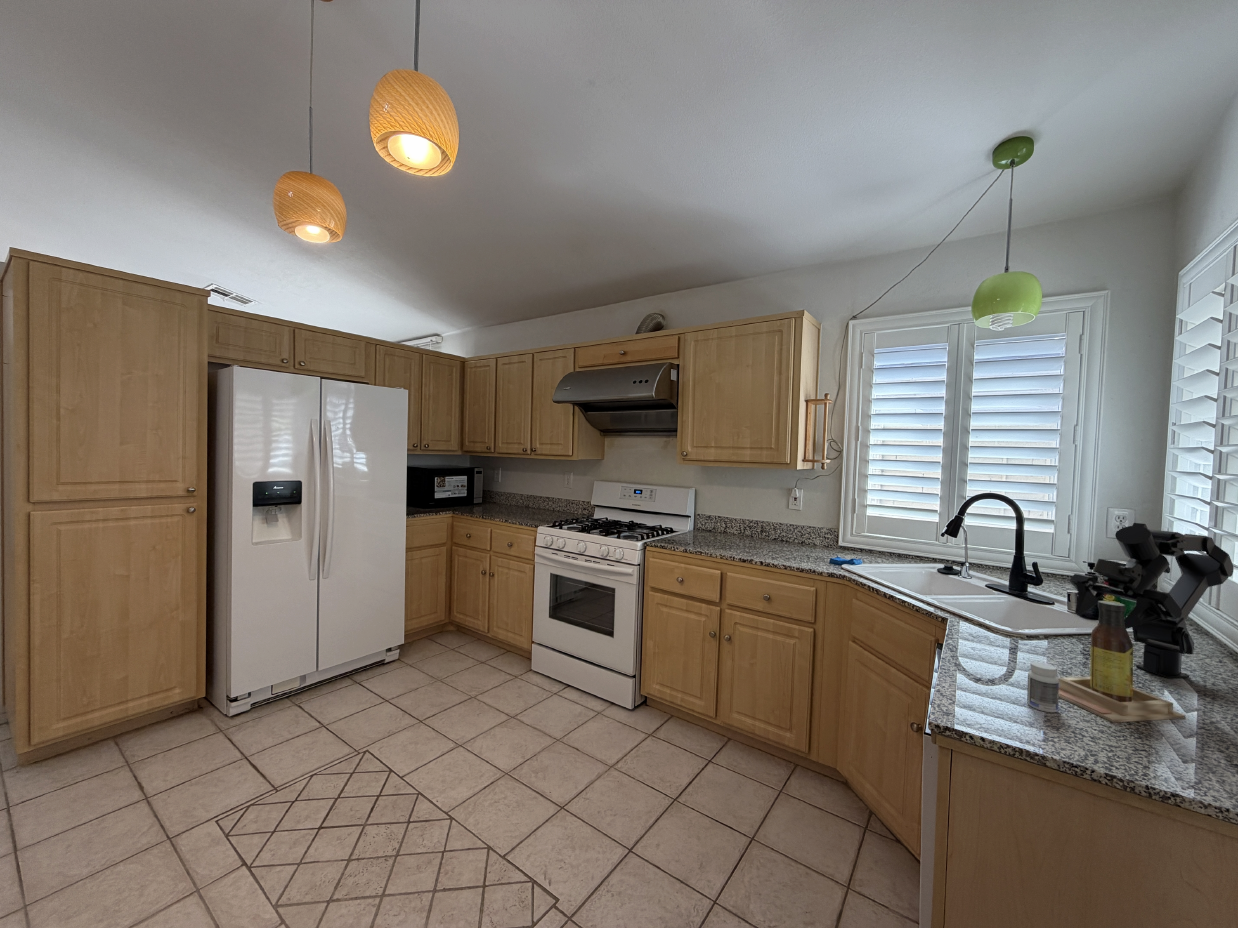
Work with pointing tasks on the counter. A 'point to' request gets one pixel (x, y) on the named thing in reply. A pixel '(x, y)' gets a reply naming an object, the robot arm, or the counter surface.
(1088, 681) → the wooden tray
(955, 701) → the counter surface
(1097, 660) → the sauce bottle
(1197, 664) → the counter surface
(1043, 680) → the pill bottle
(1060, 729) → the counter surface
